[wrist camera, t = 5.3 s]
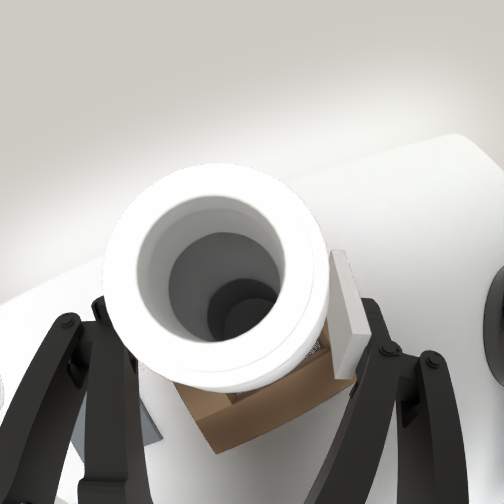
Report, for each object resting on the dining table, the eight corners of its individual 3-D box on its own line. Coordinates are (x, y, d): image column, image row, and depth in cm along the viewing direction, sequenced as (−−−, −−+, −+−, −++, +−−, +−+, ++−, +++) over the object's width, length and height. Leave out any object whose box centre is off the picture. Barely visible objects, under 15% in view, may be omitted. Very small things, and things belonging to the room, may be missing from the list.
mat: (162, 438, 21) (160, 440, 20) (86, 461, 20) (83, 463, 19) (112, 339, 24) (109, 339, 23) (44, 374, 23) (41, 374, 22)
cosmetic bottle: (221, 293, 25) (60, 85, 4) (293, 295, 24) (428, 78, 3) (217, 364, 23) (-5, 463, 2) (291, 367, 23) (461, 510, 2)
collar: (367, 357, 23) (386, 360, 19) (223, 437, 21) (216, 454, 17) (286, 221, 26) (290, 201, 22) (147, 296, 25) (129, 287, 21)
